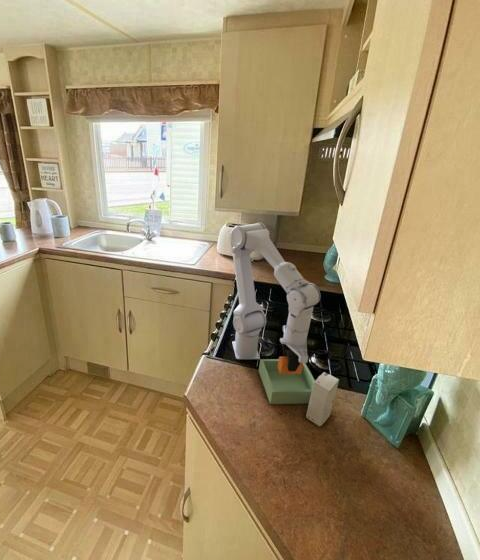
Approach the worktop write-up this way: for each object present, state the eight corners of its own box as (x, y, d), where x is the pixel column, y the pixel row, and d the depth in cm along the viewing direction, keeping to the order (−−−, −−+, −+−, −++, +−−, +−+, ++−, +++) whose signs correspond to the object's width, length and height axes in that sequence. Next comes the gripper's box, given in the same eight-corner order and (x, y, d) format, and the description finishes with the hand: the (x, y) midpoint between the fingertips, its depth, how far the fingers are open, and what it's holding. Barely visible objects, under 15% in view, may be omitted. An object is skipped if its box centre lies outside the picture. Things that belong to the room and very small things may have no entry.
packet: (277, 367, 92) (279, 356, 90) (297, 367, 92) (299, 356, 91) (280, 374, 89) (282, 363, 88) (301, 374, 90) (303, 363, 88)
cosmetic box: (320, 427, 80) (330, 392, 75) (304, 417, 83) (312, 382, 78) (331, 414, 84) (341, 379, 79) (315, 404, 87) (324, 370, 82)
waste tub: (258, 370, 99) (260, 359, 97) (300, 370, 100) (302, 358, 98) (270, 404, 87) (272, 391, 85) (317, 403, 88) (321, 391, 86)
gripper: (275, 312, 91) (269, 350, 97) (292, 342, 78) (283, 384, 83) (299, 312, 91) (291, 350, 97) (319, 342, 78) (309, 384, 84)
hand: (289, 366), depth 90 cm, fingers closed on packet, 3 cm apart
